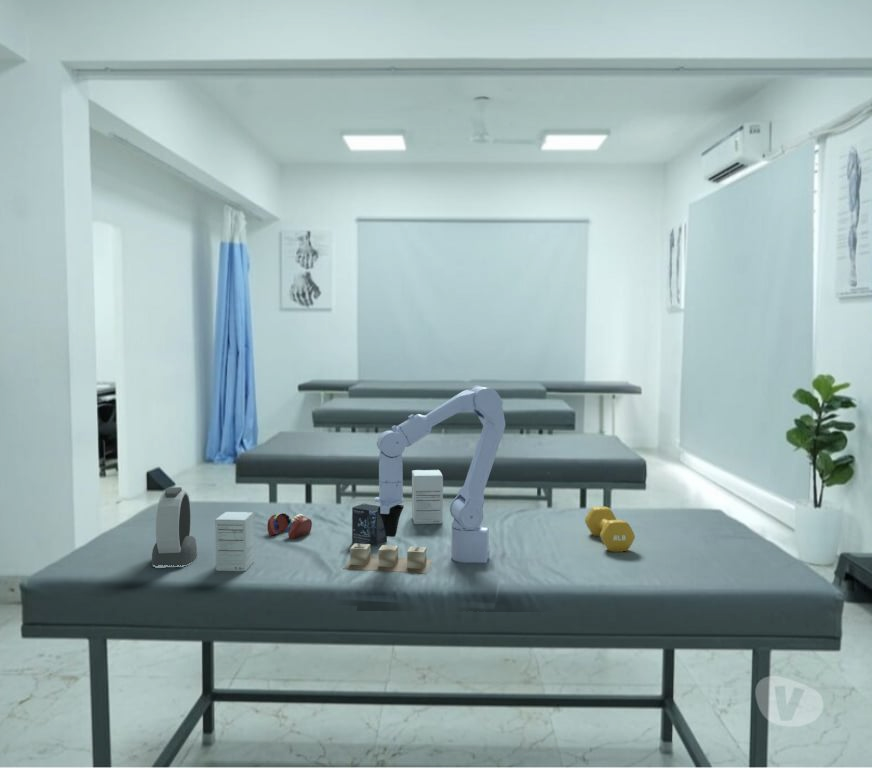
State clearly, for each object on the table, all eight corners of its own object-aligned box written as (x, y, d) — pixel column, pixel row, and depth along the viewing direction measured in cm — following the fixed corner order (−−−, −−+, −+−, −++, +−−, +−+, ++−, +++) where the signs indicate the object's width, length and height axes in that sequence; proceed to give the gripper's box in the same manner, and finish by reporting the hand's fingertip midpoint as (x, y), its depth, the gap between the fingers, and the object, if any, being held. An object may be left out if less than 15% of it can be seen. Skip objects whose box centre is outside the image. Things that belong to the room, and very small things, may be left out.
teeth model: (281, 507, 199) (315, 512, 194) (282, 528, 199) (315, 533, 194) (262, 514, 191) (297, 520, 186) (263, 536, 192) (298, 542, 187)
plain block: (398, 561, 166) (398, 545, 165) (394, 567, 162) (394, 550, 162) (382, 560, 166) (382, 544, 166) (378, 566, 162) (378, 549, 162)
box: (351, 546, 182) (351, 507, 181) (363, 540, 187) (363, 502, 186) (375, 550, 178) (375, 511, 177) (387, 545, 183) (387, 506, 182)
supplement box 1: (225, 561, 168) (225, 511, 168) (255, 561, 168) (254, 511, 167) (215, 571, 161) (214, 519, 160) (245, 571, 161) (245, 519, 160)
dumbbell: (583, 533, 196) (583, 505, 195) (614, 533, 196) (614, 505, 196) (602, 553, 177) (602, 522, 176) (636, 553, 177) (637, 522, 177)
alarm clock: (189, 569, 162) (188, 494, 161) (144, 571, 160) (143, 495, 159) (201, 549, 178) (200, 480, 177) (161, 551, 176) (159, 481, 175)
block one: (426, 563, 165) (426, 546, 164) (423, 568, 161) (423, 551, 160) (410, 562, 165) (410, 545, 165) (407, 567, 161) (407, 550, 161)
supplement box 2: (411, 517, 212) (411, 469, 211) (439, 516, 213) (439, 469, 212) (413, 524, 203) (413, 475, 202) (443, 524, 204) (443, 475, 203)
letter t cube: (370, 560, 167) (370, 543, 166) (366, 565, 163) (366, 548, 163) (354, 559, 167) (354, 543, 167) (350, 564, 163) (350, 547, 163)
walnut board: (432, 563, 168) (432, 559, 167) (425, 577, 158) (425, 573, 158) (354, 559, 170) (354, 555, 170) (342, 572, 161) (342, 568, 161)
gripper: (381, 474, 171) (381, 527, 172) (367, 486, 157) (367, 543, 158) (408, 475, 170) (408, 528, 171) (397, 487, 156) (397, 545, 157)
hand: (391, 535), depth 165 cm, fingers closed
